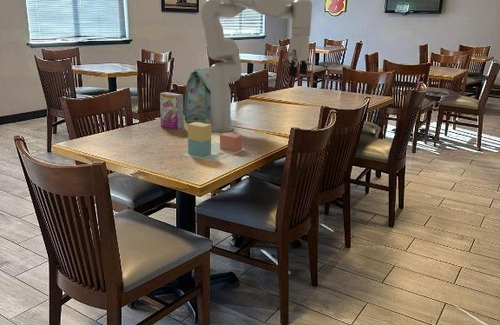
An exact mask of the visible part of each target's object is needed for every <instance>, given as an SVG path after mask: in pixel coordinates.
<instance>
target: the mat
mask: <svg viewBox="0 0 500 325" xmlns="http://www.w3.org/2000/svg"><path fill="white" fill-rule="evenodd" d="M245 150H247V148H243V147H242V149H241V150H239V151H237V152H232V151H227V150H222V149H220V142H219V143H218V142H213V143H211V154H212V153H215V152H221V153H225V154H229V155H228V156H225V157H223V158H216V157H211V156H205V157H201V156H196V155H192V154H188V152H186V153H183V154H181V156H186V157H188V158H189V157H190V158H195V159H197V160H198V159H199V160H203V161H208V162H211V163H217V162H219V161H221V160H223V159H226V158H228V157H231V156H233V155H236V154H238V153H241V152H242V151H243V152H244V151H245Z"/></svg>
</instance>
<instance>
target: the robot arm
mask: <svg viewBox="0 0 500 325" xmlns="http://www.w3.org/2000/svg"><path fill="white" fill-rule="evenodd" d="M312 2H313V1H311V0H205V1H204V3H203V4H202V6H201V9H200V19H201V23H202V26H203V30H204V35H205V42H206V46H207V47H206V48H207V54H208V56H209V58H210V59H211V60H214V61H221V60H223V61H222V62H217V63H214V64H212V65H211V66H209V67H210V69H209V72H208V75H209V81H210V90H211V119H206V120H205V123H207V124H211V132H213V133H214V132H215V133H230V132H231V131H232V132H233V131H234V126H233V125H232V124H231V109H232V107H231V105H232V103H231V100H232V99H231V98H232V96H231V95H232V94H231V88H230V85H229V83H233V82H237V81H239V80H240V78H241V76H242V74H243V73H242V72H243V71H242V63H241V57H240V50H239V47H238V44H237V43H236V42H235V40H234V39H232V38H226V37H225V35H224V28H223V25H222V23H221V21H219V18H227V19H229V18H230V19H232V18H234V17H236V16H238V15H239V14H240V13H242V12H244V11H245V10H246V9H249V10H253V11H255V12H256V13H259V14H261V15H264V16H267V17H270V18H273V19H287V20H289V19H290V20H291V35H290V40H289V47H288V57H287V58H288V59H287V60H288V66H289V71H288V76H289V77H293V78H295V77H298V76H297V73H298V66H297V65H298V63H299V62H300V64H299V74H300V75H307V73H308V65H309V59H310V58H309V57H310V37H311V28H312V27H311V24H312V13H313V11H312V10H313V3H312Z"/></svg>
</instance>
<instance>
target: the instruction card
mask: <svg viewBox="0 0 500 325" xmlns="http://www.w3.org/2000/svg"><path fill="white" fill-rule="evenodd" d="M228 155H229V154H225V153H221V152H215V153H212V154H210V155H208V156H211V157H216V158H223V157H225V156H228Z"/></svg>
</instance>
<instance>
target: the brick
mask: <svg viewBox="0 0 500 325" xmlns="http://www.w3.org/2000/svg"><path fill="white" fill-rule="evenodd" d="M219 144H220V149H222V150H227V151H232V152H237V151H239V150H241V149H242V148H243V135H242V134H237V133H233V132H223V133H221V134H219Z"/></svg>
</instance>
